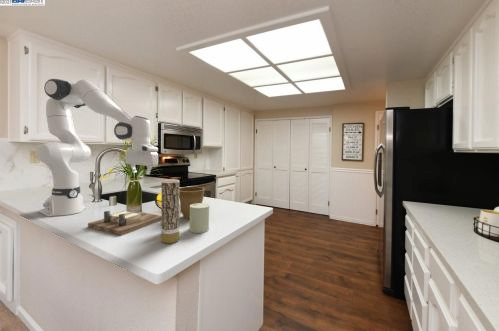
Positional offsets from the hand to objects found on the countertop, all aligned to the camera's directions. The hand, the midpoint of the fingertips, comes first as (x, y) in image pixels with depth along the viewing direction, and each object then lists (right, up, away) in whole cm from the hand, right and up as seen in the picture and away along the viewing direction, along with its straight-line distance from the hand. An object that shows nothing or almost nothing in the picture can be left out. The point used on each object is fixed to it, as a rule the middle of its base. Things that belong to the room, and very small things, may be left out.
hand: (141, 173), depth 117 cm
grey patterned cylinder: (+25, -27, -27) cm, 46 cm away
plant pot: (+25, -25, +5) cm, 35 cm away
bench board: (-3, -25, -8) cm, 26 cm away
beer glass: (+23, -26, -17) cm, 39 cm away
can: (+34, -26, -13) cm, 45 cm away
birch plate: (-3, -23, -10) cm, 25 cm away
